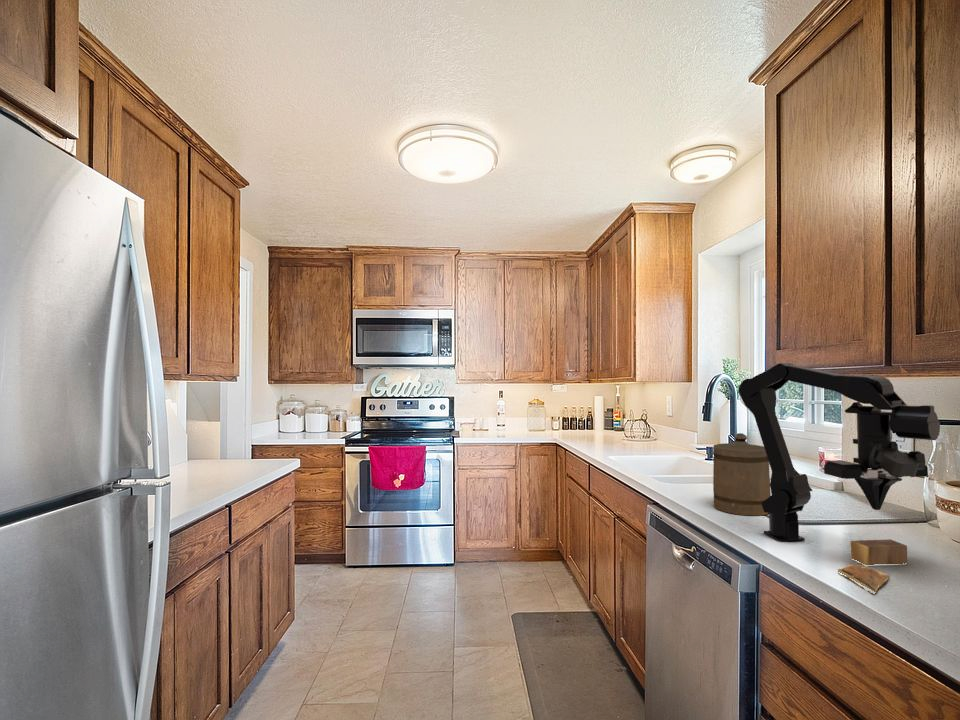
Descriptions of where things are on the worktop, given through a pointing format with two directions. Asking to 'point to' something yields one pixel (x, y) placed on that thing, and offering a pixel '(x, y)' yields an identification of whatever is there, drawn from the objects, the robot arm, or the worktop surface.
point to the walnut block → (879, 552)
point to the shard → (865, 576)
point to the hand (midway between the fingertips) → (876, 509)
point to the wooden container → (740, 477)
